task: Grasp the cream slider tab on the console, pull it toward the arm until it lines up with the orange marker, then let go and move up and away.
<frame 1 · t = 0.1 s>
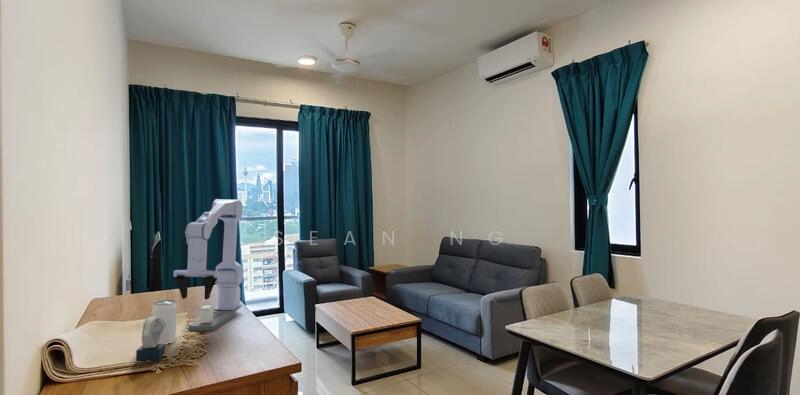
hand: (195, 298, 138), 10 cm above the table, fingers open, 7 cm apart
grey statuette: (150, 359, 110), on the table
can: (163, 342, 123), on the table
fader tab: (206, 314, 139), point 4 cm above the table, slide at 0.0 cm
console: (212, 322, 144), on the table
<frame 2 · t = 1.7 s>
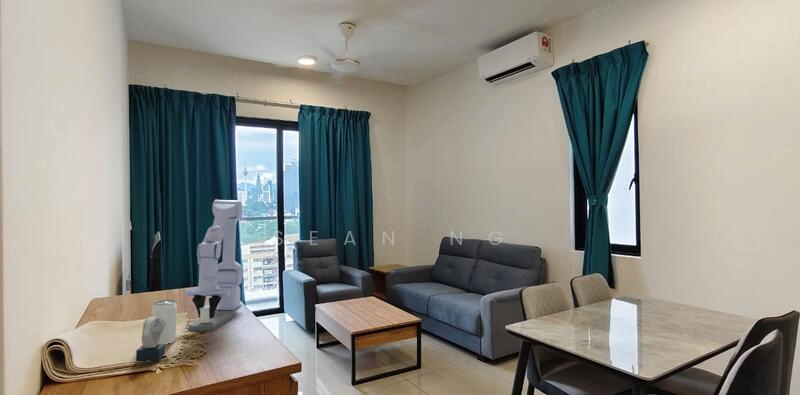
hand: (206, 317, 139), 3 cm above the table, fingers closed on fader tab, 3 cm apart
fader tab: (206, 314, 139), point 4 cm above the table, slide at 0.0 cm, touching gripper
everything else where it was.
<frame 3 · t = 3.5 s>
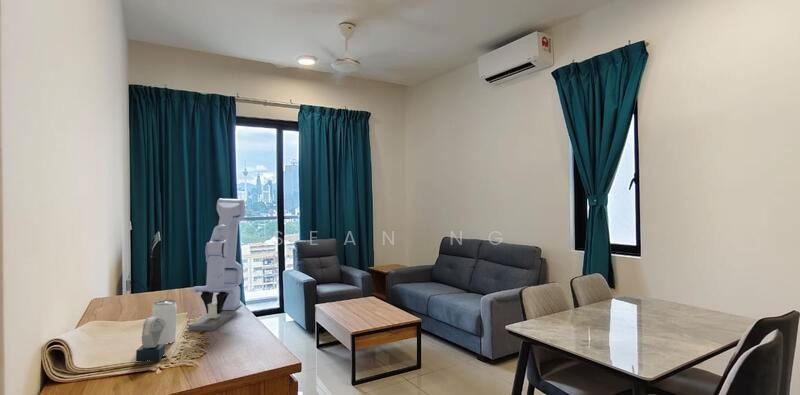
hand: (214, 313, 145), 3 cm above the table, fingers closed on fader tab, 3 cm apart
fader tab: (214, 310, 145), point 4 cm above the table, slide at 5.8 cm, touching gripper
everything else where it was.
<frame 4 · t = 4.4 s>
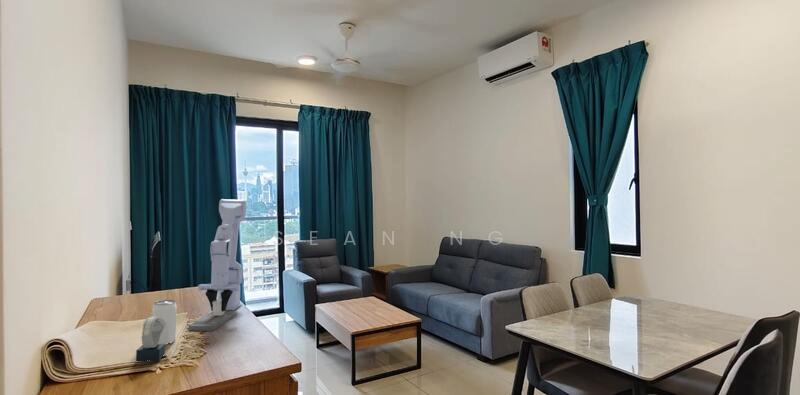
hand: (218, 310, 149), 3 cm above the table, fingers closed on fader tab, 3 cm apart
fader tab: (218, 307, 149), point 4 cm above the table, slide at 9.4 cm, touching gripper
everything else where it was.
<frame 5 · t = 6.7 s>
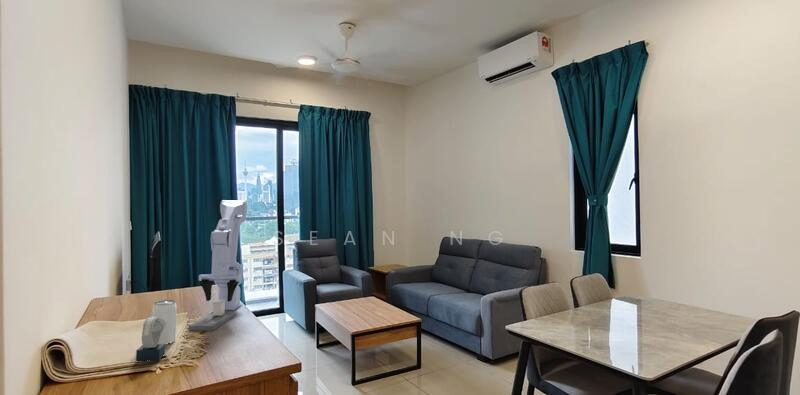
hand: (219, 300, 149), 7 cm above the table, fingers open, 7 cm apart
fader tab: (218, 307, 149), point 4 cm above the table, slide at 9.5 cm
everything else where it was.
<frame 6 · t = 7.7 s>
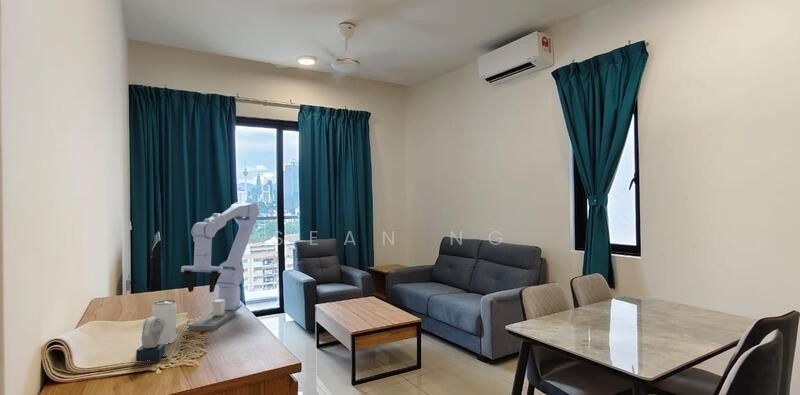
hand: (201, 291, 151), 9 cm above the table, fingers open, 7 cm apart
nothing on the table moved.
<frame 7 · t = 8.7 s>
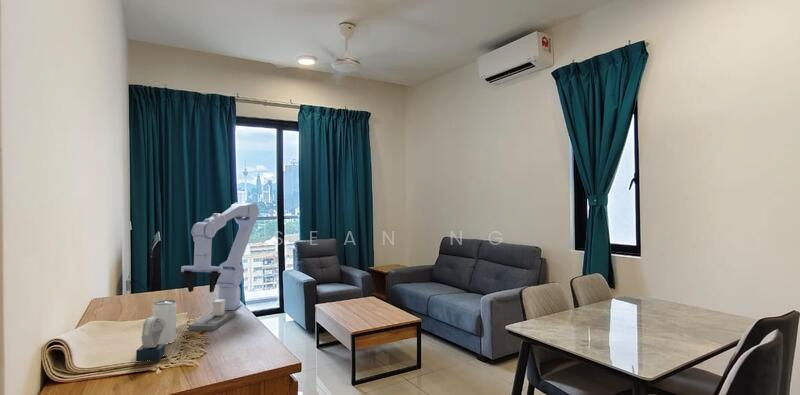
hand: (201, 291, 151), 9 cm above the table, fingers open, 7 cm apart
nothing on the table moved.
at the end: fader tab slide at 9.5 cm; the gripper is holding nothing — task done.
